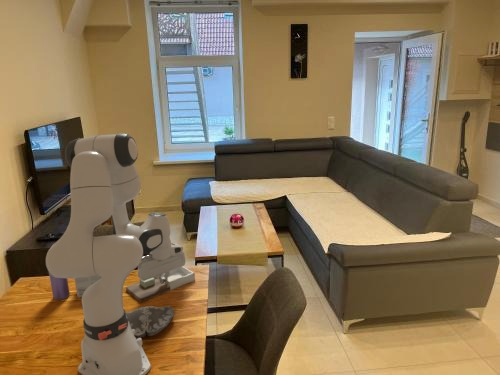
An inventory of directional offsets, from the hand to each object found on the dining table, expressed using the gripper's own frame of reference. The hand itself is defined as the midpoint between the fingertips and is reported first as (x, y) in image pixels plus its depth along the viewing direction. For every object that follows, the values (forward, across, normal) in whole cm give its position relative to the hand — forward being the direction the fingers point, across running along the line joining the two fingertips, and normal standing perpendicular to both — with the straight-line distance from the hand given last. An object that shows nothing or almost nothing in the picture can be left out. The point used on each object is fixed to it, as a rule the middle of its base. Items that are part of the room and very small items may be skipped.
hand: (163, 282), depth 154 cm
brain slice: (+3, -18, -19) cm, 26 cm away
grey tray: (+3, +7, +3) cm, 8 cm away
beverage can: (+3, -33, +23) cm, 41 cm away
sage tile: (+1, -5, +5) cm, 7 cm away
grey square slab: (+3, -6, +3) cm, 7 cm away
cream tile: (+2, +4, 0) cm, 4 cm away
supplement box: (+3, -18, +19) cm, 27 cm away
